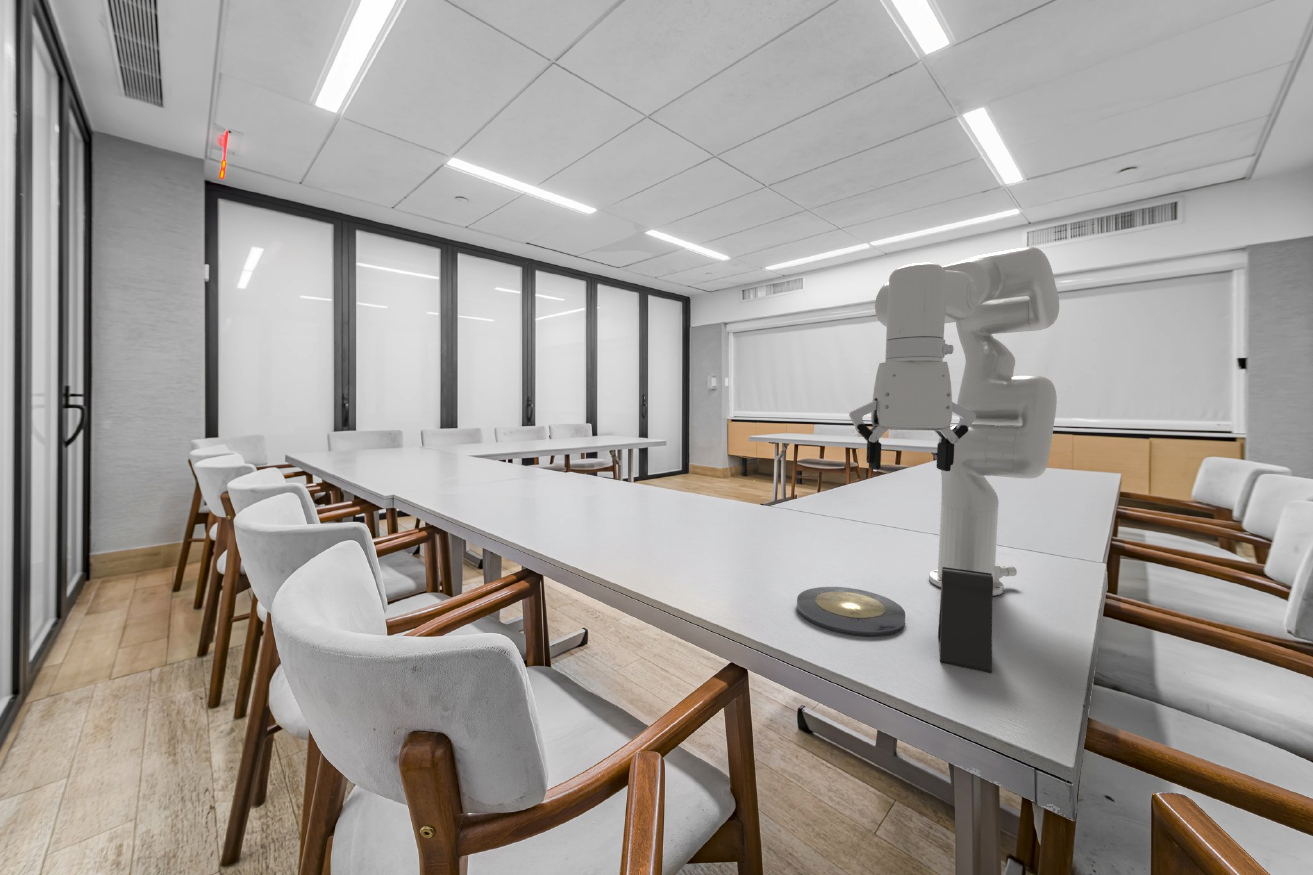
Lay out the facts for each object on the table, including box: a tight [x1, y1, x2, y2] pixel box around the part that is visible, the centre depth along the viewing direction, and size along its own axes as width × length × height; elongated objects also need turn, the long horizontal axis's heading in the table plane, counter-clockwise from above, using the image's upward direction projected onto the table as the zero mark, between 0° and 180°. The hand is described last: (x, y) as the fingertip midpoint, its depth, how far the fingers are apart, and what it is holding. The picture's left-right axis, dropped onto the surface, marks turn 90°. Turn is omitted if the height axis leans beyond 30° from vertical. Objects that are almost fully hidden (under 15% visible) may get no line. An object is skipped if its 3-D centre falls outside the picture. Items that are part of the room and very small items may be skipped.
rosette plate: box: [796, 586, 906, 637], centre depth 86 cm, size 17×17×2 cm
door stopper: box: [937, 567, 993, 673], centre depth 72 cm, size 9×6×12 cm, turn 152°
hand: (908, 469), depth 75 cm, fingers open, 9 cm apart
